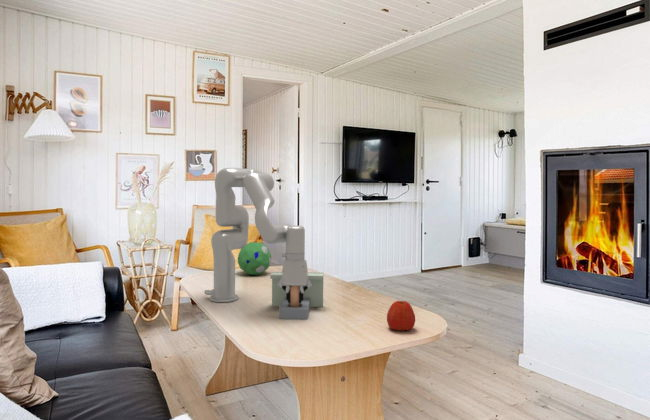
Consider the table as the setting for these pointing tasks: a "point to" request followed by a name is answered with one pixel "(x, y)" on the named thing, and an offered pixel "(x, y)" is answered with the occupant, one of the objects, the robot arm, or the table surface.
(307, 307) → the socket
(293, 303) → the peg
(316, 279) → the pale green rectangular block
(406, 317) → the apple
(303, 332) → the table surface
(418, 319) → the table surface
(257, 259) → the decorative sphere
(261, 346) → the table surface
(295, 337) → the table surface
